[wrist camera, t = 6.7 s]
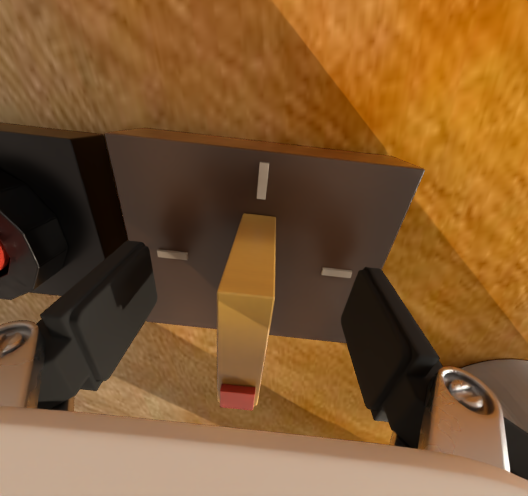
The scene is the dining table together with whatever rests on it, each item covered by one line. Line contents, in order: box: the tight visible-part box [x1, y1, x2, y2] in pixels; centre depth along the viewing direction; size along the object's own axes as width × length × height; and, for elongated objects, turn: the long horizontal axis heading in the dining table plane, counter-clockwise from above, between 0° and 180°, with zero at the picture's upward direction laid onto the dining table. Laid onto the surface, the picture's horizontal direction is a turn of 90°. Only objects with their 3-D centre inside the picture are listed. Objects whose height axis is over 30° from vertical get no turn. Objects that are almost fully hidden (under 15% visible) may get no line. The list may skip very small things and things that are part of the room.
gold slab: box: [217, 213, 276, 410], centre depth 9 cm, size 5×1×5 cm, turn 174°
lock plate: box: [105, 128, 425, 343], centre depth 12 cm, size 12×10×3 cm
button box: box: [0, 123, 128, 300], centre depth 12 cm, size 10×9×4 cm
